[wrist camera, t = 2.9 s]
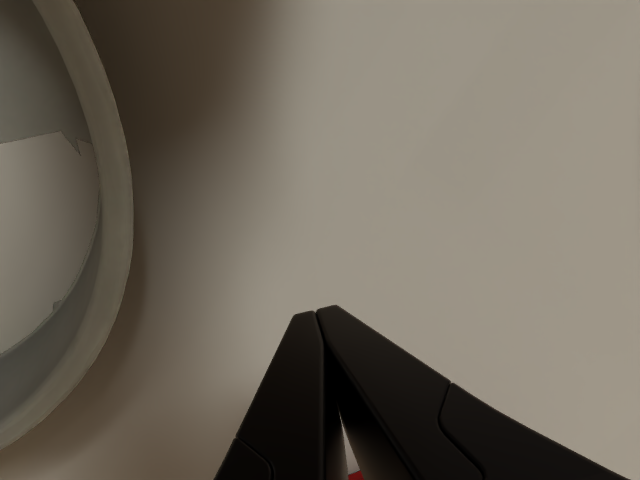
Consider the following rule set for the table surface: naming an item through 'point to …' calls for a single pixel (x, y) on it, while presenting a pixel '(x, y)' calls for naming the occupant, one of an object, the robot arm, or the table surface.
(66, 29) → the grey round tray
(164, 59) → the table surface
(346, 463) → the robot arm
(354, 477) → the plastic cup
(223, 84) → the table surface
